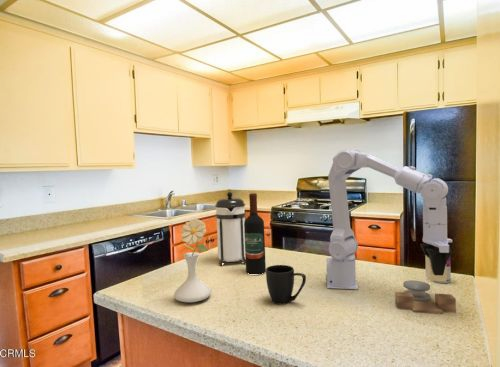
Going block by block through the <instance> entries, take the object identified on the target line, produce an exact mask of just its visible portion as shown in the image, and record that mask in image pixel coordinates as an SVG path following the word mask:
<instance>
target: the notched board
mask: <svg viewBox="0 0 500 367" xmlns="http://www.w3.org/2000/svg"><path fill="white" fill-rule="evenodd" d="M394 296H395V297H394V301H395V303H394V304H395V307H396V309H398V310H411V311H412V312H413V313H425V314H426V313H427V314H440V315H441V314H443V315H444V312H448V313H456V312H457V310H456V309H457V299H456V297H455V296H454V295H453V294H450V293H449V294H448V293H447V294H446V293H434V301H414V297H413V295H412V294H411V293H409V292H404V291H394Z"/></svg>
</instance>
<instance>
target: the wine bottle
mask: <svg viewBox="0 0 500 367" xmlns="http://www.w3.org/2000/svg"><path fill="white" fill-rule="evenodd" d="M248 196H249V197H248V198H249V215H248V216H247V217H245V221H244V234H245V260H246V264H245V273H246V272H247V273H249V274H262V273H264V272H266V268H267V267H266V264H267V263H266V242H265V241H266V240H265V221H264V219H263V218H262V217H261V216H260V215H259V213H258V200H257V199H258V194H257V193H249V195H248ZM247 273H246V274H247ZM262 275H263V274H262Z"/></svg>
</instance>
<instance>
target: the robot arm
mask: <svg viewBox="0 0 500 367" xmlns="http://www.w3.org/2000/svg"><path fill="white" fill-rule="evenodd" d="M361 168H369V169H372V170H374V171H377V172H379V173H381V174H383V175H386V176H388V177H391V178H393V179H394V181H395V184H396V185H398V186H399V187H402V188H405V189H407V190H408V191H411V192H413V193H415V194H420V197H421V198H422V200H423V201H422V202H423V204H422V205H423V206H422V229H423V230H422V234H423V235H422V242H423V243H420V244H419V246H420V247H421V249H422V251H423V253H424V256H425V255H429V256H430V259H431V263H432V269H433V273H434V275H441V276H443V274H444V270H445V266H446V263H447V261H448V259H449V257H450V258H451V256H452V253H453V251H452V250H451V249H450V250H449V247H450V244H449V243H453V239H451V238H448V206H447V197H446V196H447V194H448V192H449V186H448V183H447V182H446V181H444V180H442V179H441V178H438V177H434V178H433V174H430V173H428V174H426V173H423V172H421V171H418V170H416V167H415V166H413V165H411V166H406V165H405V166H402V167H398V166H396V165H393V164H391V163H389V162H387V161H386V160H384V159H381V158H379V157H377V156H375V155H373V154H370V153H367V152H362V151H360V150H357V149H356V150H351V149H350V150H349V149H342V150H340V151H338V152H337V153H336V154H335V156H333V158H332V164H331V167H330V170H329V173H328V175H327V176H328V178H327V179H328V188H329V198H330V206H331V207H330V208H331V209H330V210H331V218H332V226H333V227H332V232H331V235H330V238H329V241H330V242H329V245H328V252H329V255H330V256H331V257H326V259H325V260H326V261H325V262H326V275H325V281H326V287H327V289H337V290H338V289H340V290H341V289H342V290H359V286H358V281H357V273H356V272H357V271H356V269H357V268H356V267H357V266H356V255H355V254H356V252H357V251H358V248H359V244H358V241H357V239H356V237H355V232H354V231H353V229H352V228H351V221H350V210H349V201H348V192H347V190H348V189H347V182H346V181H347V179H348V178H349V177H350V176H351V175H352V174H353V173H355V172H357V171H359V170H361Z"/></svg>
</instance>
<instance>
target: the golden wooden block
mask: <svg viewBox="0 0 500 367" xmlns="http://www.w3.org/2000/svg"><path fill="white" fill-rule="evenodd" d="M424 256H425V277H426V278H427V279H428V280H429V282H434V281H447V272H446V266H445V270H444V274H443V276H441V275H434V273H433V269H432V263H431V259H430V256H429V255H425V254H424Z"/></svg>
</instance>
